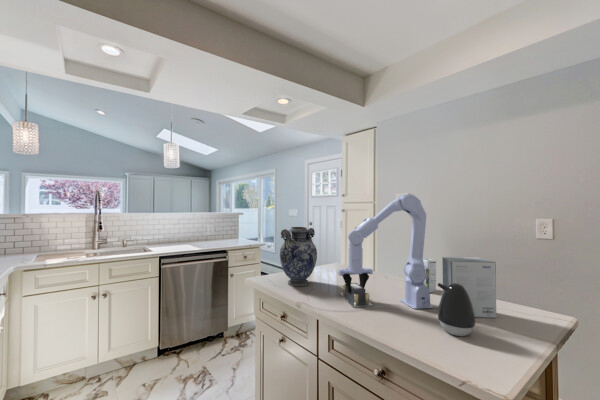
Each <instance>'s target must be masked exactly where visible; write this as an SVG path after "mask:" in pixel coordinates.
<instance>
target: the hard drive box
mask: <svg viewBox="0 0 600 400" xmlns="http://www.w3.org/2000/svg"><path fill="white" fill-rule="evenodd" d="M441 265H442V285H444V286H449V285H450V284H453V283H457V284H460V285H462V286H463V287H464V288H465V290H466V291H467V293H468V295H469V297H470V300H471V302H472V305H473V309H474V314H475V318H486V319H487V318H491V319H492V318H497V274H496V270H497V268H496V266H497V265H496V261H494V260H492V259H488V258H485V257H461V256H460V257H458V256H457V257H451V256H449V257H447V256H445V257H442V264H441ZM444 291H445V290H443V289H442V294H443V293H444Z"/></svg>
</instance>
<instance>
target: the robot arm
mask: <svg viewBox="0 0 600 400" xmlns="http://www.w3.org/2000/svg"><path fill="white" fill-rule="evenodd" d="M401 211H404V212H405V213H407V215H409V216H410V217H411V219H412V220H411V221H412V222H411V229H410V230H411V232H410V242H409V243H410V244H409V254H408V257H407V260H406V264H405V266H404V268H403V272H404V274H405V276H406V277H405V279H404V298H401V299H400V302H402V303H404V304H405V305H407V306H408V307H410V308H412V309H414V310H420V309H431V308H433V306H432V305H431V292H430V290H429V288H428V287H426V286H425V283H424V280H425V279H426V273H425V270H424V262H423V258H424V250H425V249H424V248H425V238H426V237H425V235H426V227H427V226H426V225H427V213H426V210H425V208H424V207H423V205H422V203H421V200H420V199H419V198H418V197H417V196H416V195H414V194H412V193H408V194H401V195H400V196H398V197H397V198H395V199H393V200H392V201H391V202H389V203H388V204H387V205H386V206H385V207H383V209H382V210H381V211H379V212H378V213H377V214H376V215H375V216H373V217H367V218H363V220H362V221H363V222H361V223H360V224H359V225H357V226H355V227H354V229H353V230H351V231H350V232H349V233H348V236H347V237H348V241H349V242H348V268H343V269H338V270H337V274H338V276H342V278H343V281H344V284H346V287H347V292H348V293H351V283H352V279H353V277H352V276H353V275H358V278H359V279H358V280H359V285H360V286H362V287H363V288H364V289H365V287H366V284H367V281H368V280H369V279H370V276H369V275H373V274H374V273H373V268H365V267H363V262H364V261H363V259H364V257H363V256H364V255H363V243H364V239H365V238H366V239H367V238H368V237H369V236H370V235H371V234H373V233H374V232H375V231H377V230H378V228H379V224H380V223H381V222H382V221H384V220H385V219H386V218H388V217H389V216H391V215H392V214H393V213H395V212H401Z"/></svg>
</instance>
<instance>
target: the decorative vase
mask: <svg viewBox="0 0 600 400" xmlns="http://www.w3.org/2000/svg"><path fill="white" fill-rule="evenodd" d="M314 236H315V229H314V227H313V228H312V227H310V228H307V227H304V226H292V227H291V228H290V229H289V230H288V229H287V228H284V229H282V230H281V231H280V238H281V239H283V241H284V242H283V244H281V247H280V250H279V259H280V260H279V261H280V264H281V268H282V270H283V272H284V274H285V275H286V276H287V277H288V279H289V280H287V285H288V286H291V287H305V286H308V285H309V280H308V278H309V277H311V275H312V273H313V272H314V270H315V267H316V264H317V260H318V252H317V251H318V249H317V246H316V245H315V243H314V241H313V239H312V238H314Z"/></svg>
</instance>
